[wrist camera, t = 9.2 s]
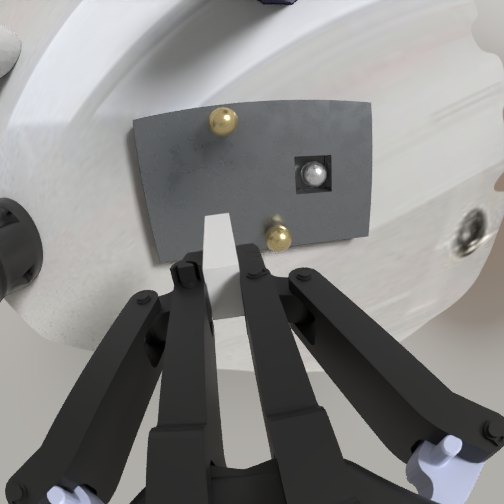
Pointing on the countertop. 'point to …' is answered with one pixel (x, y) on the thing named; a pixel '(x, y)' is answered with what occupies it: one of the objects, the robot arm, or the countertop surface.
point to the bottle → (278, 2)
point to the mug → (8, 49)
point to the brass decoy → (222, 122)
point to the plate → (256, 173)
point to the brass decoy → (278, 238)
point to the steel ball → (313, 174)
